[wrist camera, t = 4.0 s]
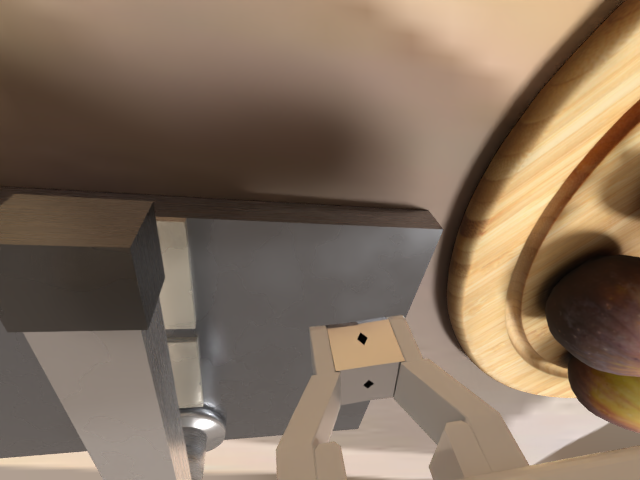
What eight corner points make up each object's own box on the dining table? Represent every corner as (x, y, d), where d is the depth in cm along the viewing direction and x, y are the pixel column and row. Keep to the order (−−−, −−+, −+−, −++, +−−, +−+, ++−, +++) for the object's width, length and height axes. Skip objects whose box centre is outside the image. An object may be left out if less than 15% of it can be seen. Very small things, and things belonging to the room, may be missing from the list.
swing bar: (212, 511, 20) (208, 554, 18) (138, 520, 19) (128, 566, 18) (180, 202, 8) (162, 251, 7) (-18, 191, 7) (-92, 245, 6)
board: (-303, 169, 11) (-664, 284, 7) (428, 210, 16) (490, 289, 12) (-40, 438, 22) (-115, 550, 17) (351, 411, 27) (369, 491, 22)
